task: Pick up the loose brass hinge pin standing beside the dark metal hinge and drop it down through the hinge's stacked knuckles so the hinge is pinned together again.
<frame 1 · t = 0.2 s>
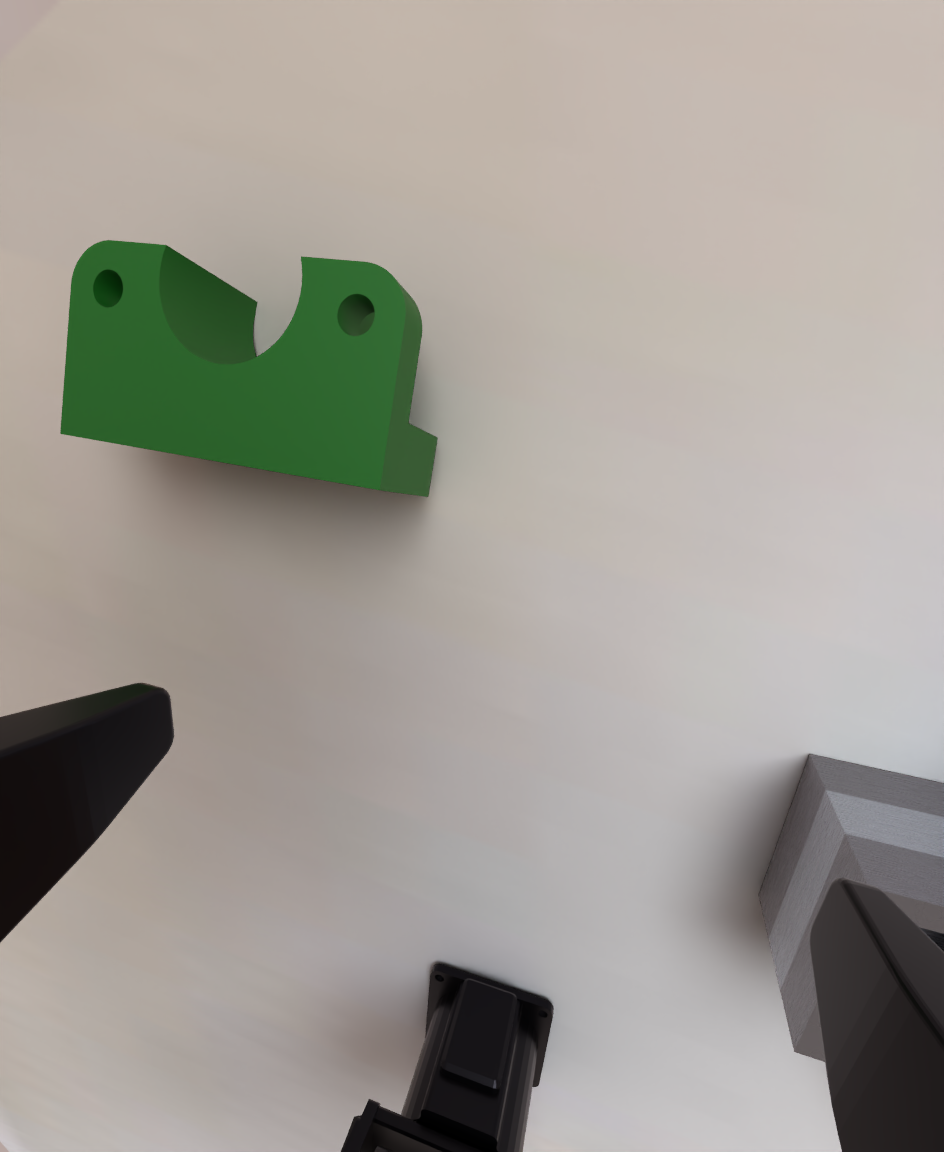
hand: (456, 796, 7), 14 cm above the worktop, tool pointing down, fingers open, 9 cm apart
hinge: (885, 854, 22), on the worktop
clamp: (314, 379, 22), on the worktop
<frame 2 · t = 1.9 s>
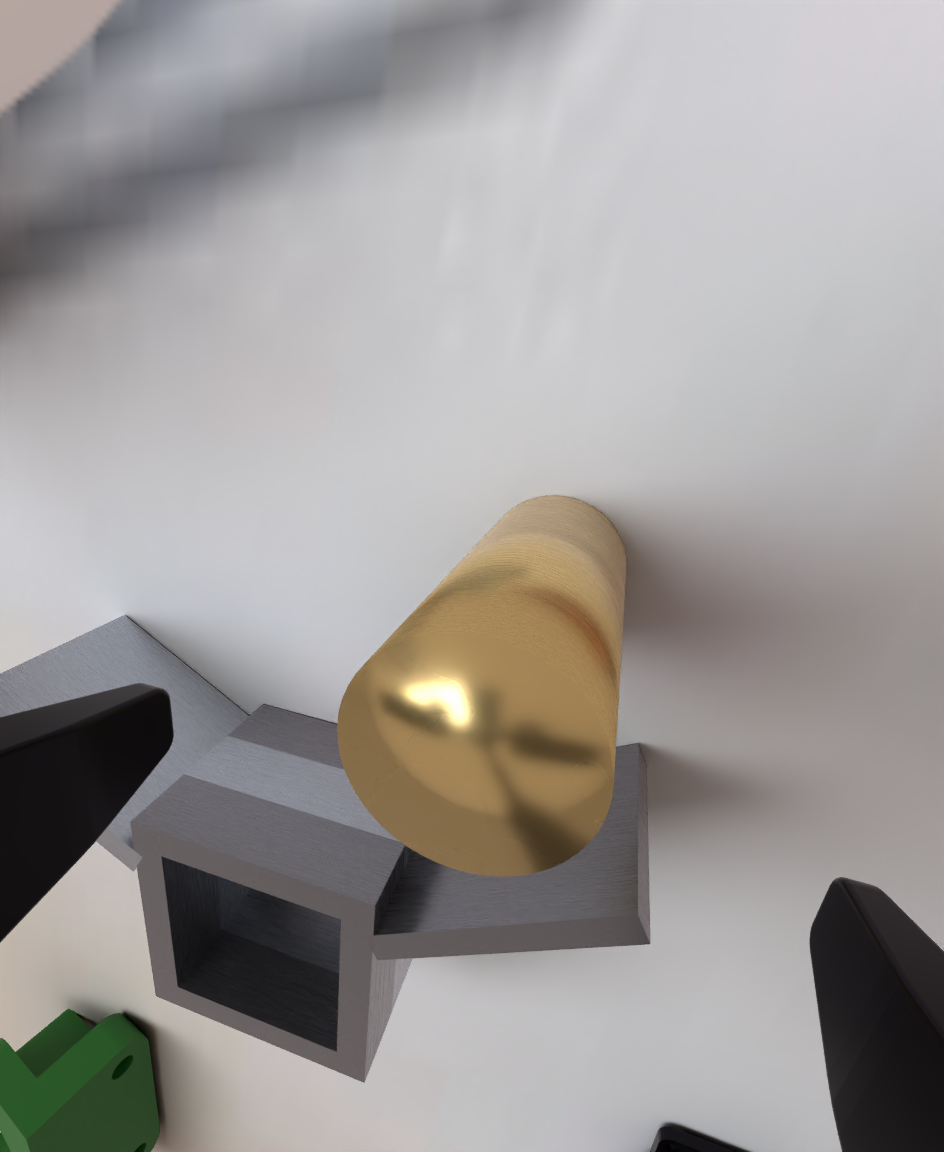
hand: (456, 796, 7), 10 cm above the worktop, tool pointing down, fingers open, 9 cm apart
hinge: (349, 807, 21), on the worktop
clamp: (113, 1049, 34), on the worktop
pin: (553, 565, 16), on the worktop
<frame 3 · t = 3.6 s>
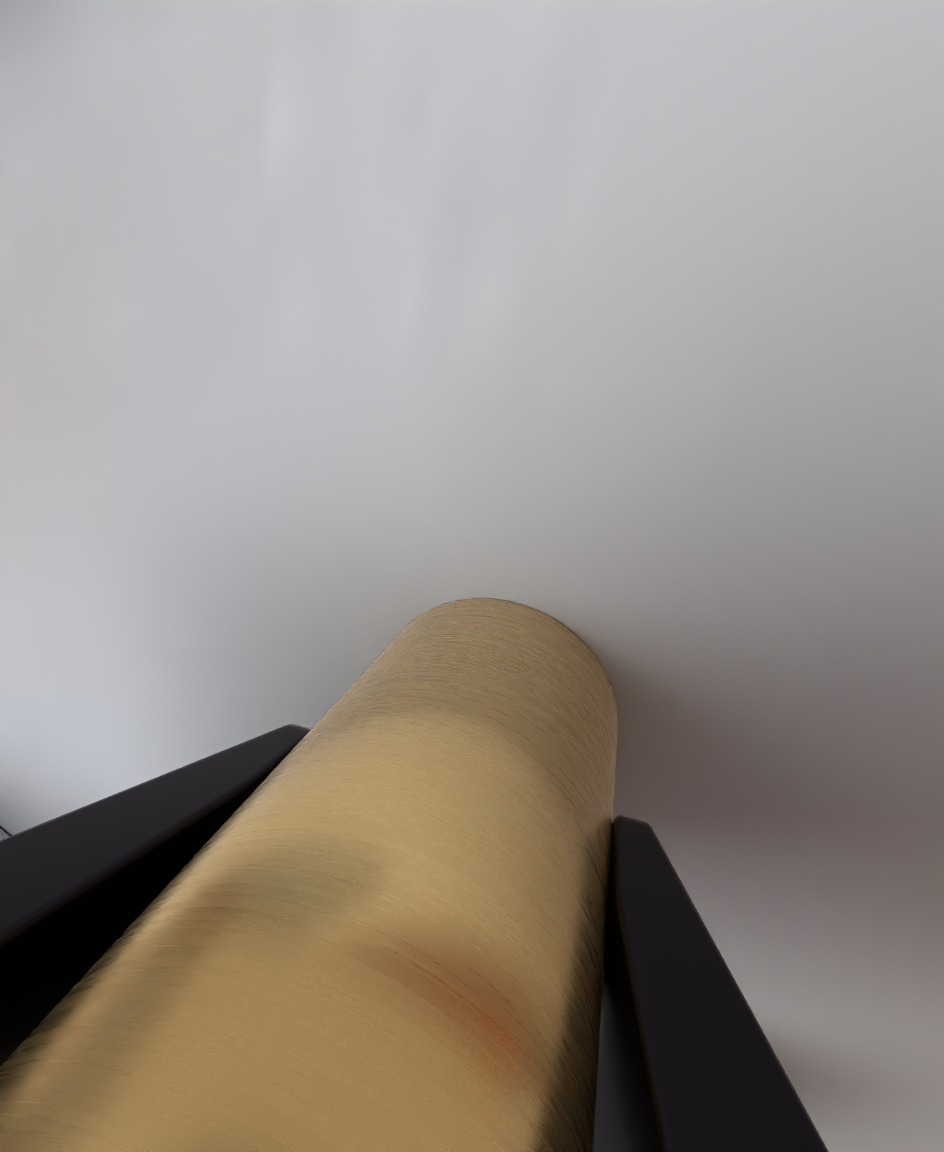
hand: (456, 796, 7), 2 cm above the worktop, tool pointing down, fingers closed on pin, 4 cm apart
pin: (492, 711, 9), on the worktop, touching gripper
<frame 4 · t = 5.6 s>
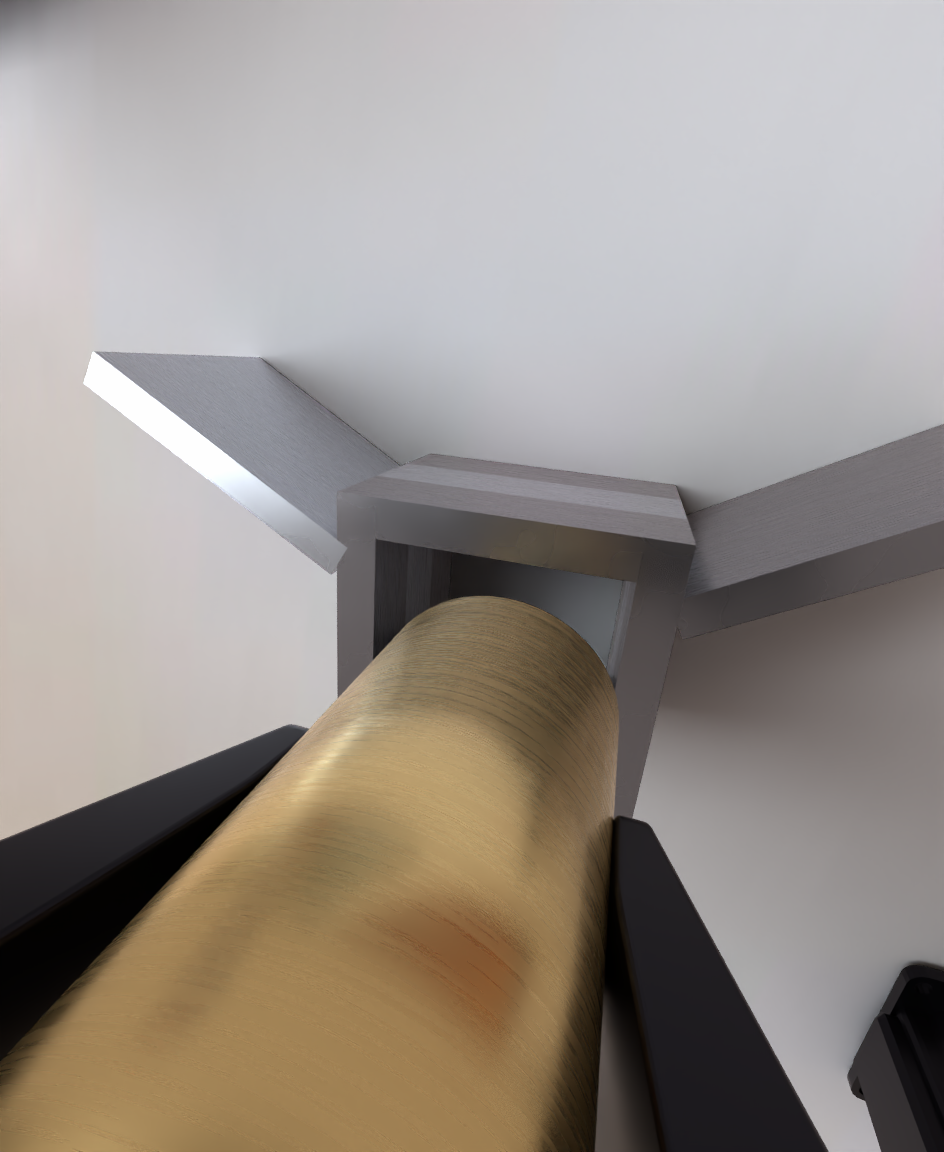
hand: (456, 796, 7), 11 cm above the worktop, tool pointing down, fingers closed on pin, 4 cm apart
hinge: (532, 582, 18), on the worktop
pin: (493, 709, 9), point 9 cm above the worktop, touching gripper
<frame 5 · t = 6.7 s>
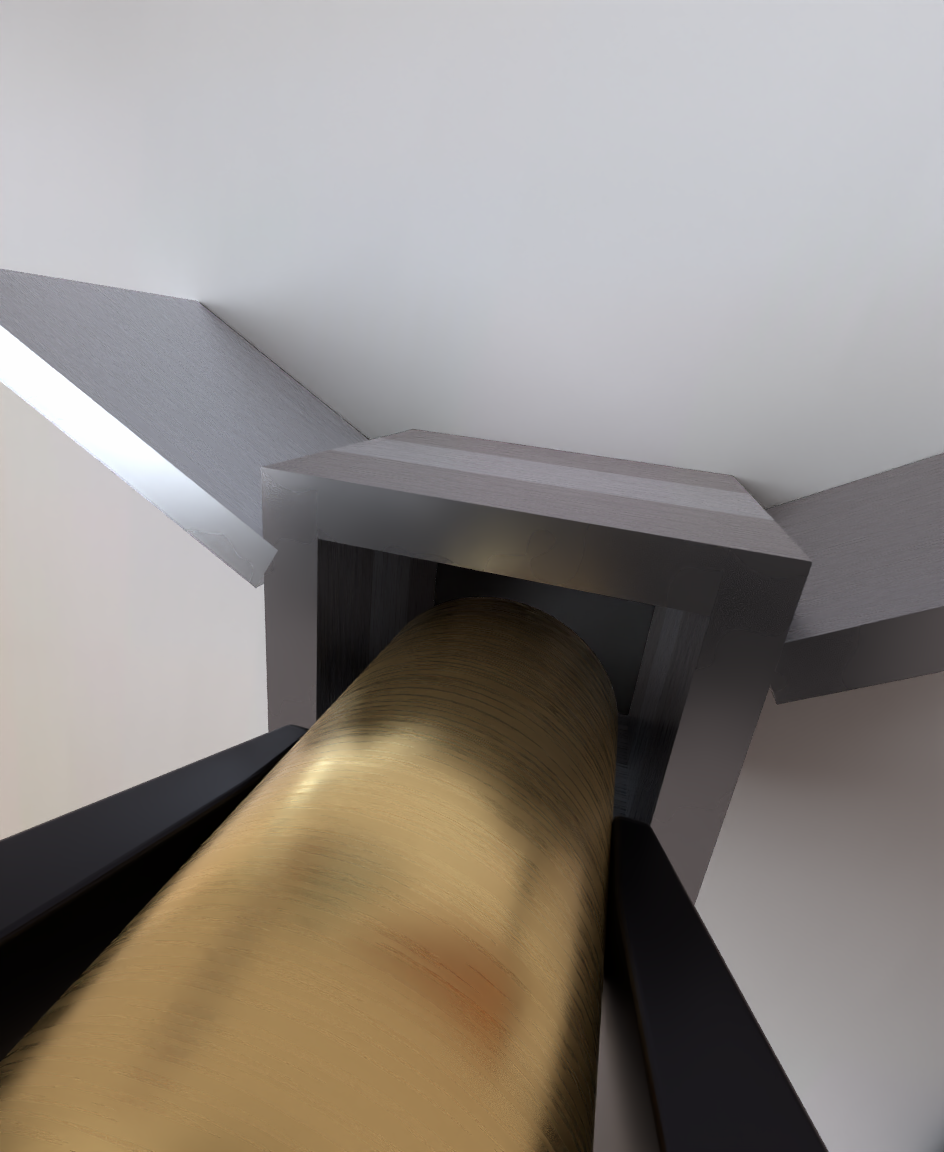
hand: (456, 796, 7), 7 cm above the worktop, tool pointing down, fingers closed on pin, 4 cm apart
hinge: (539, 597, 14), on the worktop
pin: (492, 710, 9), point 5 cm above the worktop, touching gripper
when the fingers open (7 cm above the worktop, at t = 7.6 s): pin drops 5 cm, resting in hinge.
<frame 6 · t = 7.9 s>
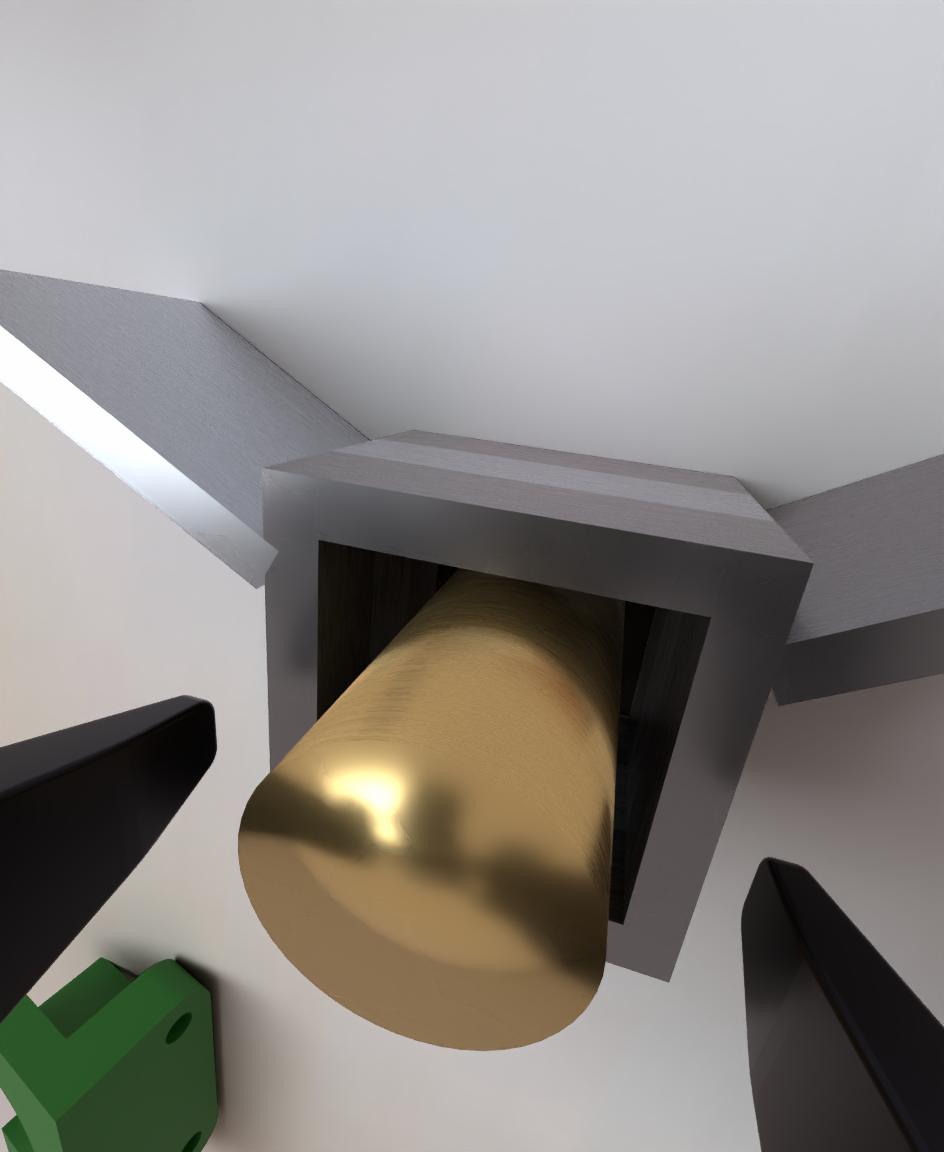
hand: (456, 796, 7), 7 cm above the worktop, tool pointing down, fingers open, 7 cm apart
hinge: (540, 598, 14), on the worktop
clamp: (157, 1011, 26), on the worktop
pin: (541, 597, 14), resting in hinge
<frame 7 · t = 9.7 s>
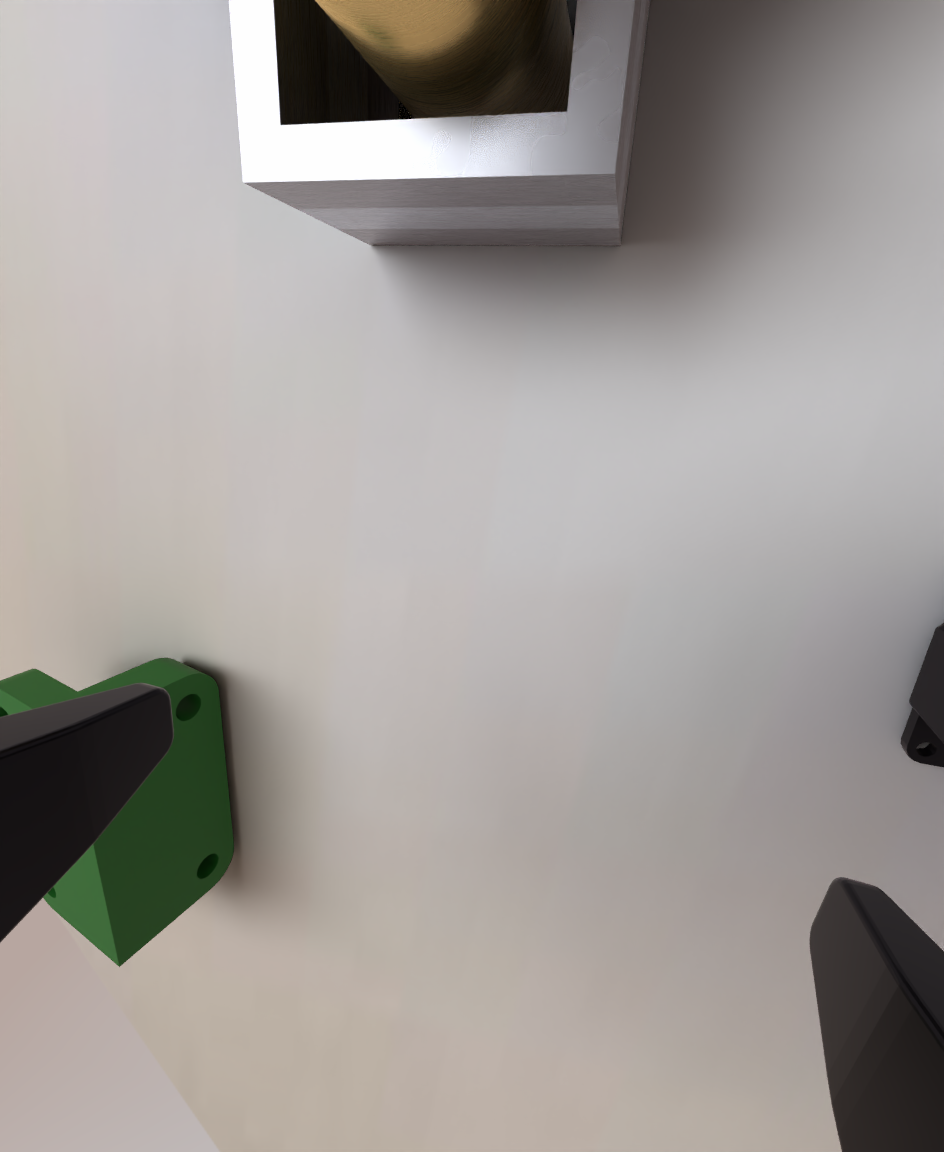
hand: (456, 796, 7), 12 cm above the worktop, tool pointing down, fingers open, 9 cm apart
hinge: (496, 86, 15), on the worktop
clamp: (169, 745, 26), on the worktop
pin: (498, 85, 15), resting in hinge
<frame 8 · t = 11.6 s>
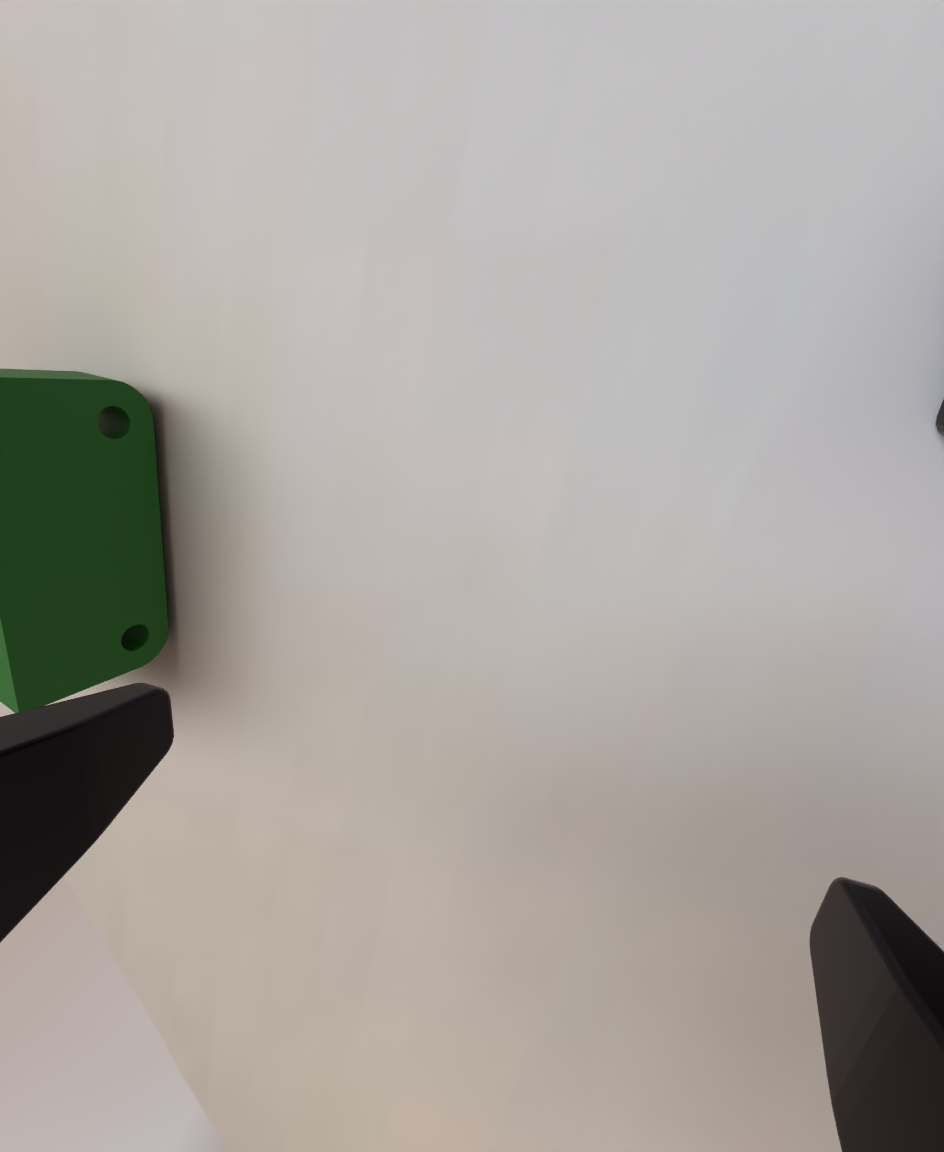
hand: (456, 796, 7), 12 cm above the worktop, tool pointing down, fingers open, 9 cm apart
clamp: (101, 509, 24), on the worktop
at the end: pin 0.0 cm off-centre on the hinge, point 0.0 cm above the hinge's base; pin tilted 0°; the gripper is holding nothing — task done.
